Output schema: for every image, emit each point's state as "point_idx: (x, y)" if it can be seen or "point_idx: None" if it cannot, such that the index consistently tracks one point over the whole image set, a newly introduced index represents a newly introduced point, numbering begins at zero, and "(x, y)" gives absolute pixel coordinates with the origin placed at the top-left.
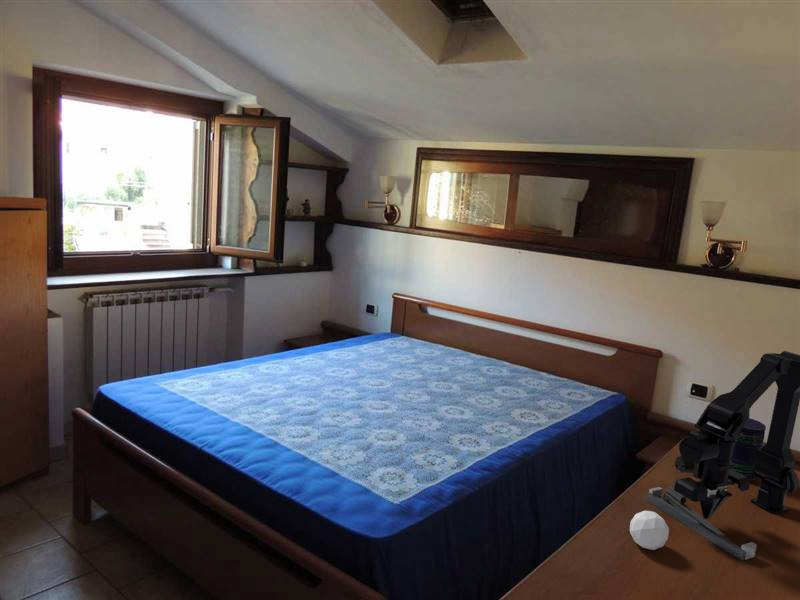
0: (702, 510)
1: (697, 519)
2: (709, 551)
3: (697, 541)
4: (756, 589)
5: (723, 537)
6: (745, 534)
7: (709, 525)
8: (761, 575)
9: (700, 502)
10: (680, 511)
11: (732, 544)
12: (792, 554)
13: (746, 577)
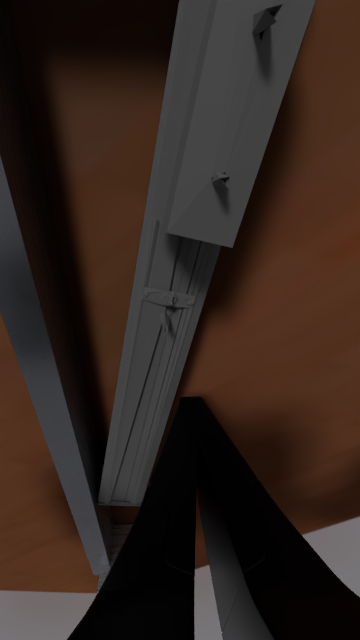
0: (165, 440)
1: (115, 402)
2: (14, 495)
3: (9, 452)
4: (28, 585)
5: (97, 528)
6: (293, 457)
7: (140, 447)
8: None
9: (141, 504)
10: (35, 324)
11: (93, 552)
12: (304, 533)
13: (41, 565)
